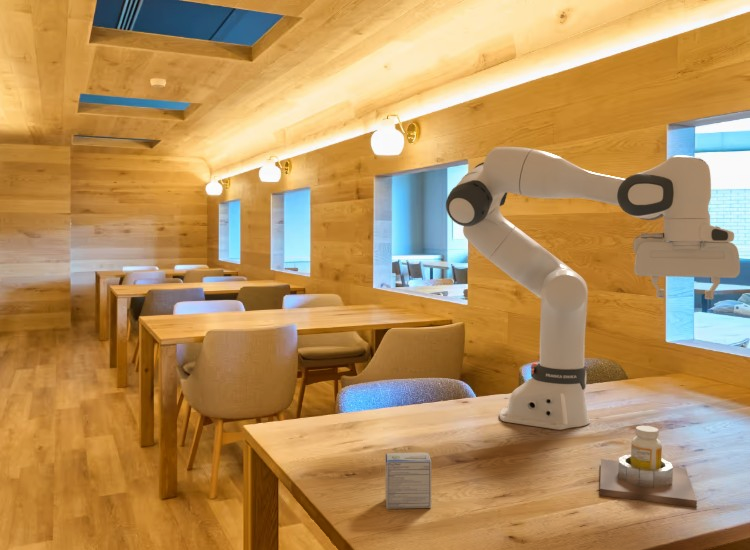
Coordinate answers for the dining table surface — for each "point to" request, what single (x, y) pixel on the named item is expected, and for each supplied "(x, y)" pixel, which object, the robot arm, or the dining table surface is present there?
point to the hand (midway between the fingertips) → (684, 298)
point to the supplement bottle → (646, 448)
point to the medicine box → (408, 480)
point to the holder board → (646, 482)
